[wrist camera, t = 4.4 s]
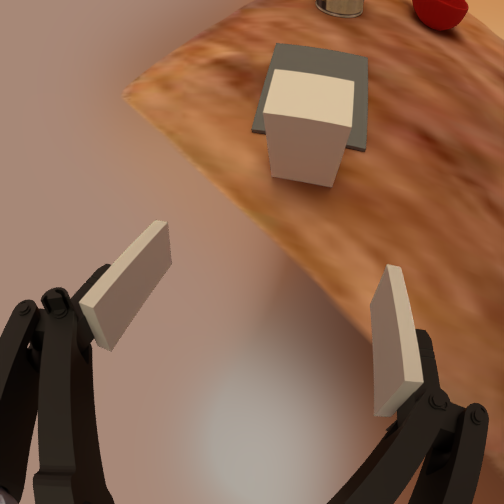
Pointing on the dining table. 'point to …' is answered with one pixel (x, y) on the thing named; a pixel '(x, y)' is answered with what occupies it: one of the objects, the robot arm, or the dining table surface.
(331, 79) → the cream block
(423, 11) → the ceramic cup
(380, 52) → the dining table surface
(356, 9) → the coffee can
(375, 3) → the dining table surface
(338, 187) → the dining table surface
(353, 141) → the charcoal mat
